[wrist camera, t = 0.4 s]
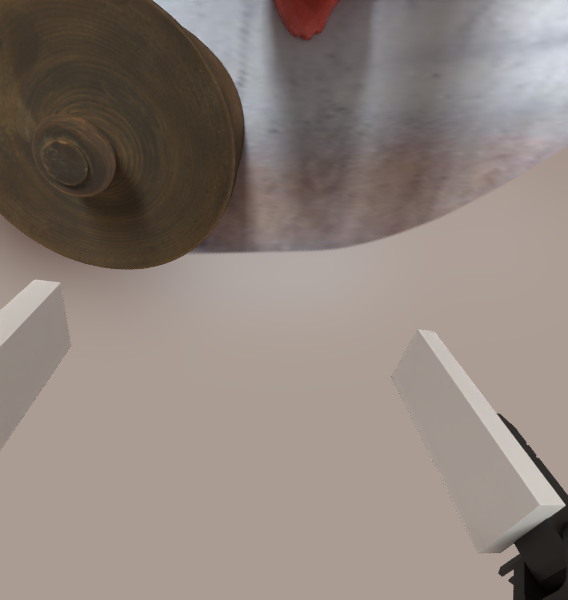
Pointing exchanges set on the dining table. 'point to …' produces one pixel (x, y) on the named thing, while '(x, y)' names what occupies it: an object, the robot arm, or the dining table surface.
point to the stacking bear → (305, 15)
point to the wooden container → (113, 131)
